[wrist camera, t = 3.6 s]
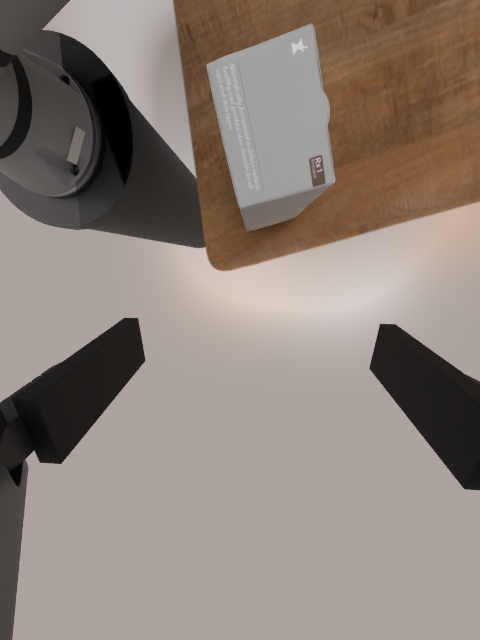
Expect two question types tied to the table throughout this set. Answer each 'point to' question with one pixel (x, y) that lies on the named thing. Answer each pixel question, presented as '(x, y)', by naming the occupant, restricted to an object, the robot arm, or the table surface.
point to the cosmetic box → (274, 126)
